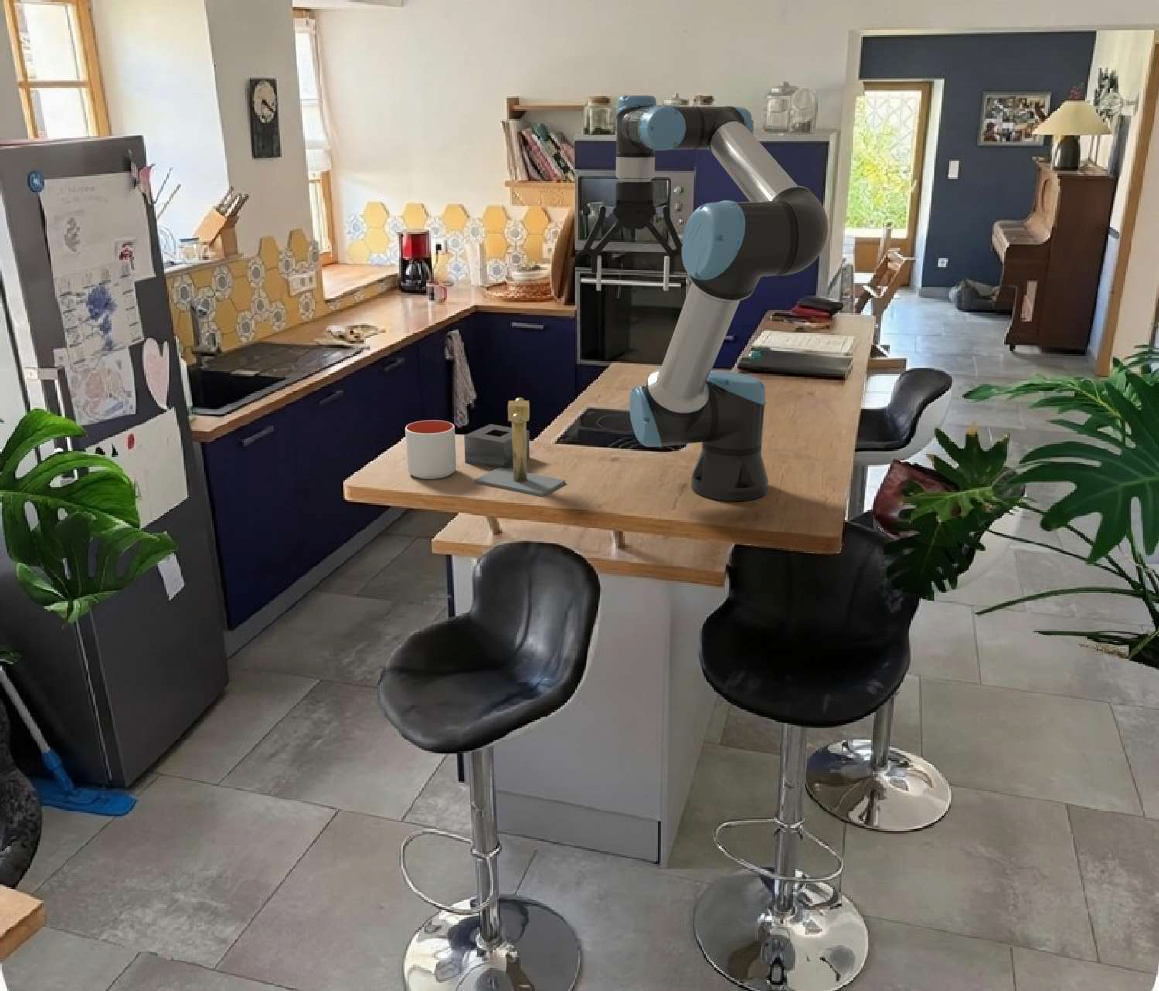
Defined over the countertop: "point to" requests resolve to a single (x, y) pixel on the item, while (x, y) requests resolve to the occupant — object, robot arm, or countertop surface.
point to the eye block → (491, 446)
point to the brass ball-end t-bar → (519, 437)
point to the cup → (430, 449)
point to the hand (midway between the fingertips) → (632, 289)
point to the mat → (531, 486)
